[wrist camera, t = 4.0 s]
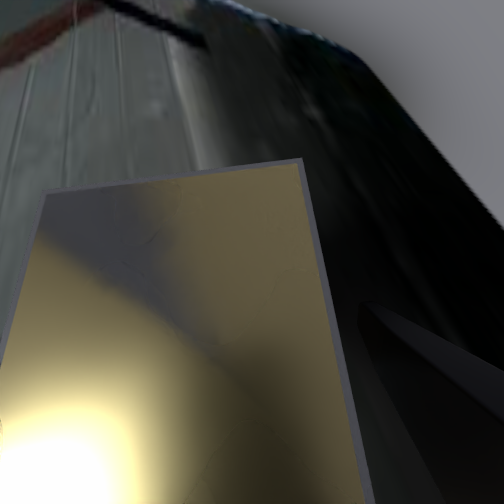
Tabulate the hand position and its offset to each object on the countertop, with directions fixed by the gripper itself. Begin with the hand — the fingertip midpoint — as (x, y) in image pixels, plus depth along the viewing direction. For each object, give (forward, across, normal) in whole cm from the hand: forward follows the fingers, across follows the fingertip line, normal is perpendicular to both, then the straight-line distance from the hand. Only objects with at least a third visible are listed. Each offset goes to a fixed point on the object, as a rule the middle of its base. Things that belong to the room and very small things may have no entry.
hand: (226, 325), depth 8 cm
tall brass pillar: (+6, 0, +6) cm, 8 cm away
